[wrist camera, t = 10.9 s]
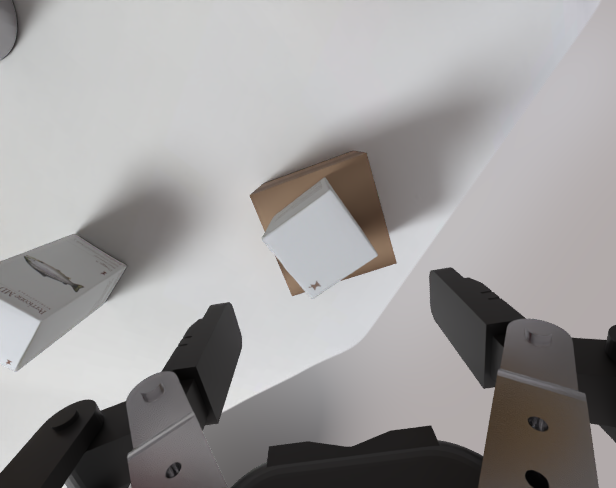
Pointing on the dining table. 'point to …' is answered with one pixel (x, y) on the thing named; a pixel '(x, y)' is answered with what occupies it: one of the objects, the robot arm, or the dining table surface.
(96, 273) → the supplement box
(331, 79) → the dining table surface
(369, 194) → the walnut block
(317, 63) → the dining table surface
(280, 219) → the skincare box
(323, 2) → the dining table surface
